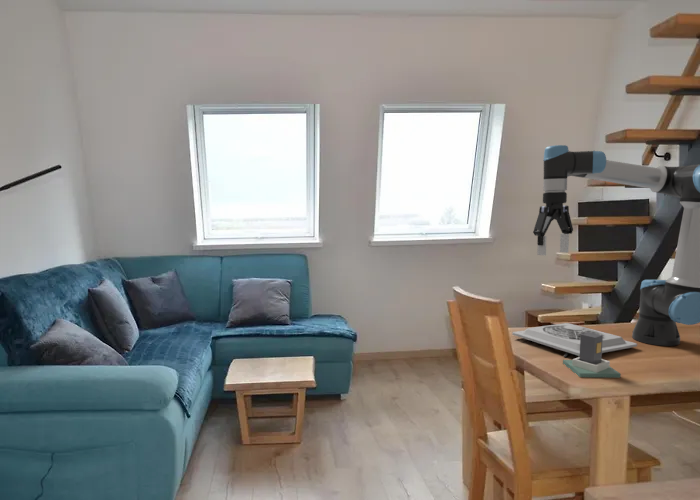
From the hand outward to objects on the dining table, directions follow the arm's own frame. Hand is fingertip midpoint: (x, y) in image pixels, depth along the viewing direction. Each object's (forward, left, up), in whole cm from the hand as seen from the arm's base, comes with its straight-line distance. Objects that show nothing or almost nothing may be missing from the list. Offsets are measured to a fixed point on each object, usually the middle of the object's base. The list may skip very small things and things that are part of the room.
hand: (553, 253), depth 166 cm
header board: (-5, +21, -34) cm, 40 cm away
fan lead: (-4, +5, -34) cm, 35 cm away
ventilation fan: (-11, -6, -34) cm, 36 cm away
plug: (-5, +21, -33) cm, 39 cm away
